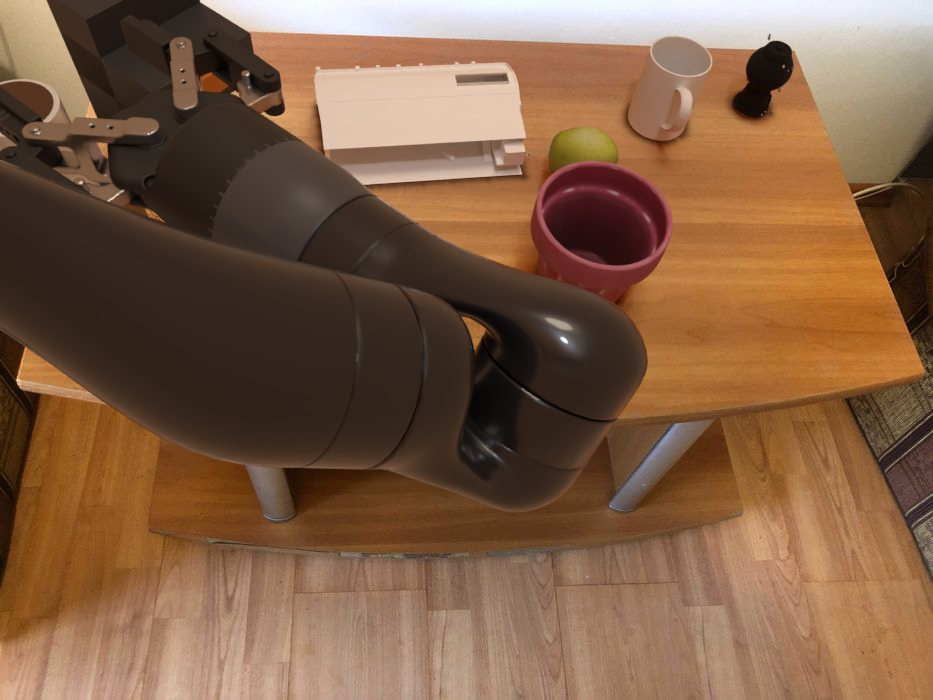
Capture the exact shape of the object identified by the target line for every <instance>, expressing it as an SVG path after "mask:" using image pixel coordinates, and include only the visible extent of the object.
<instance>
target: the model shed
mask: <svg viewBox="0 0 933 700" xmlns="http://www.w3.org/2000/svg"><path fill="white" fill-rule="evenodd" d="M312 78H313V79H314V80H313V81H312V83H313V84H314V90H313V91H314V92H313V93H315V97H316V101H314V104H315V105H317V108H318V114H319V118H320V126H321V127H320V128H321V135H322V137H321V138H322V146H323V150H324V156H326V157H327V158H329V159H330V160H332V161H334V162H335V163H337V164H338V165H340V166H341V167H343V168H344V169H345V170H347V171H348V172H349V173H350V174H352V175H353V176H354V177H355V178H356V179H357V180H358V181H360V182H361V183H362V184H363V185H364V186H366V185H378V184H379V185H381V184H395V183H396V184H397V183H411V182H426V181H439V180H440V181H442V180H443V181H444V180H457V179H458V180H459V179H471V178H488V177H489V178H490V177H501V176H516V175H517V176H518V175H523V172H522V168H521V165H524V163H525V157H526V153H527V150H526V148H525V144H524V139H527V134H526V128H525V124H524V120H523V116H522V112H521V111H522V102H521V94H520V93H521V92H520V87H519V82H518V78H517V75H516V73H515V71H514V70H513V69H512V66H511V65H510V64H509V63H507V62H505V61H504V62H481V63H476V60H471V61H470V63H460V62H459V61H454V63H453V64H430V65H429V64H428V65H424V63H421V62H420V63H418V65H406V66H405V65H404V66H403V65H401V63H399V64H398V63H397V64H396V65H395V66H382V67H381V65H380V64H376V65H375V67H360V65H355V66H354V68H332V69H330V68H329V69H321V66H315V74H313V75H312Z"/></svg>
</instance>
